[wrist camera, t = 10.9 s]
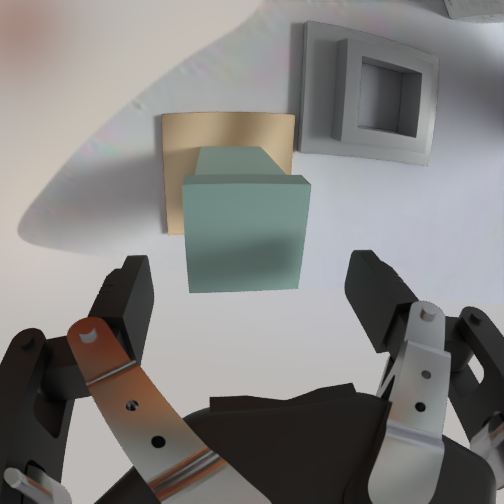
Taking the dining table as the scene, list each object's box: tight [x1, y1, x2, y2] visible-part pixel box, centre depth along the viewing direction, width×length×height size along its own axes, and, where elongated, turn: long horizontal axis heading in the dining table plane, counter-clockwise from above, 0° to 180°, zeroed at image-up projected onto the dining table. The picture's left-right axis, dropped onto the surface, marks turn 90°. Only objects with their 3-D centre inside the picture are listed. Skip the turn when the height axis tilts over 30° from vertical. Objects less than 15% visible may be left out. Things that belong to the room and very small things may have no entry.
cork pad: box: [162, 112, 295, 235], centre depth 23 cm, size 10×10×1 cm
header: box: [297, 21, 439, 166], centre depth 20 cm, size 13×11×3 cm
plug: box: [182, 146, 311, 293], centre depth 18 cm, size 5×5×12 cm
